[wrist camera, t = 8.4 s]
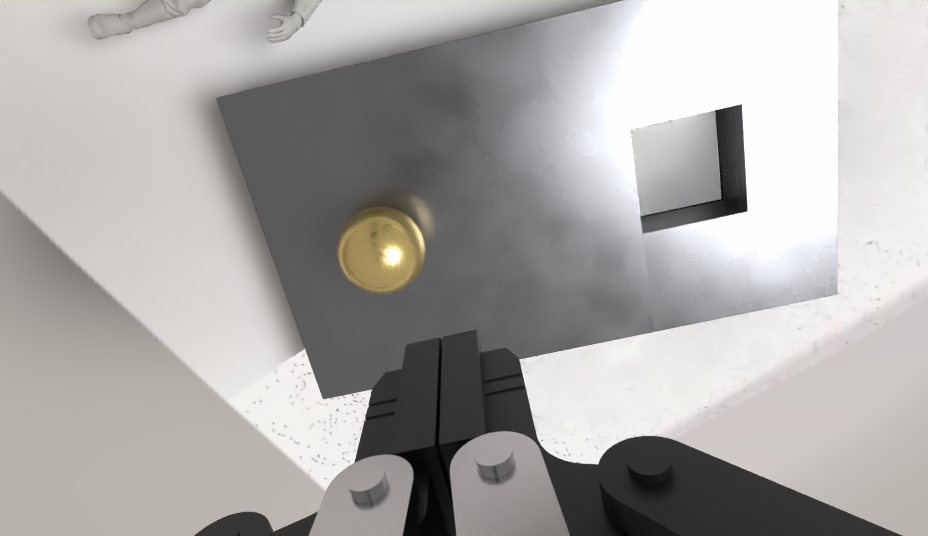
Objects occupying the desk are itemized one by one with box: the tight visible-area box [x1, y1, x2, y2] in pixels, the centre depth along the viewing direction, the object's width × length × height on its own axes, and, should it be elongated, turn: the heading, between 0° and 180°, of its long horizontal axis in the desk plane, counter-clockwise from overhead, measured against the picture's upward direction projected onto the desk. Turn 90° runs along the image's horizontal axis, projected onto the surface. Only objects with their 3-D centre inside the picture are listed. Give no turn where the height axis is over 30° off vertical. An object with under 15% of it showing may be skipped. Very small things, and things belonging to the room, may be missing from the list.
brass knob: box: [336, 206, 425, 295], centre depth 22 cm, size 4×4×4 cm
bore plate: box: [216, 0, 838, 399], centre depth 25 cm, size 14×24×2 cm, turn 103°
